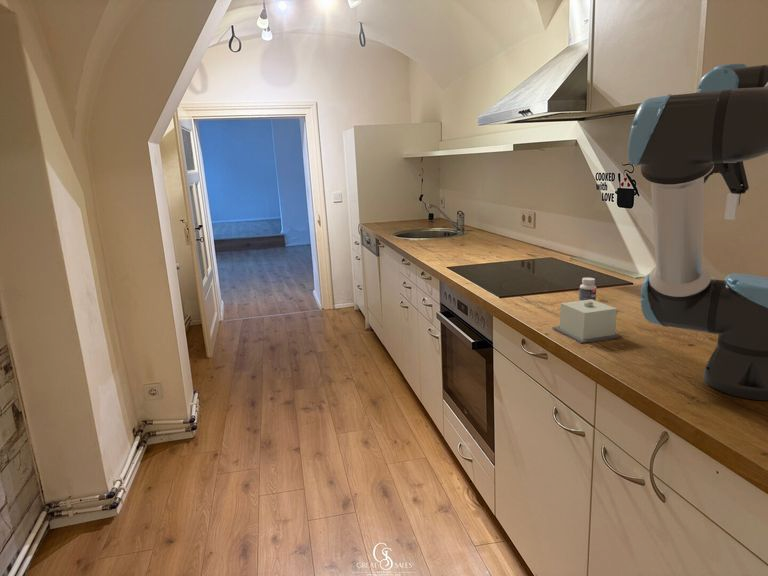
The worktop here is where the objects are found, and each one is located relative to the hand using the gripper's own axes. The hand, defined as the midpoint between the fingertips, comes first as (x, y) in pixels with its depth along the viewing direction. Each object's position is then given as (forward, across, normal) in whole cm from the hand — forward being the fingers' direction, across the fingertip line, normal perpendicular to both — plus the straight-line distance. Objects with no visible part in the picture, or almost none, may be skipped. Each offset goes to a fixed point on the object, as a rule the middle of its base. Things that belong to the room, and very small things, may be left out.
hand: (710, 221), depth 128 cm
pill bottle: (+32, +4, -39) cm, 50 cm away
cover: (+31, +23, -15) cm, 41 cm away
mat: (+32, +23, -15) cm, 42 cm away
